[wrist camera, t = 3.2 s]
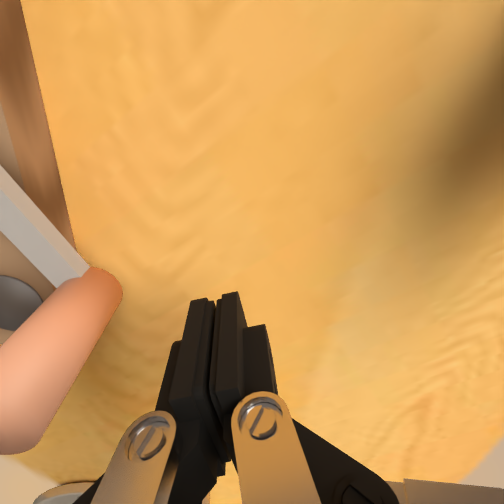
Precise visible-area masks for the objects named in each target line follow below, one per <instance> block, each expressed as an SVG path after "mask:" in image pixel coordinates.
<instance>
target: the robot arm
mask: <svg viewBox="0 0 504 504" xmlns="http://www.w3.org/2000/svg"><path fill="white" fill-rule="evenodd" d="M231 459H232V461H233V464H234V466H235V469H236V471H237V474H238V476H239V483H240V490H241V497H242V504H504V489H502V488H493V487H484V486H474V485H463V484H454V483H443V482H433V481H423V480H413V479H404V481H403V483H401V482H391V481H384V480H383V479H382V478H381V477H379V476H378V475H377V474H375V473H374V472H372V471H371V470H369V469H368V468H366V467H365V466H363V465H362V464H360V463H359V462H357V461H356V460H354V459H353V458H351V457H350V456H348V455H347V454H345V453H344V452H342V451H341V450H339V449H338V448H336V447H335V446H333V445H332V444H330V443H329V442H327V441H326V440H324V439H323V438H321V437H320V436H318V435H317V434H315V433H314V432H312V431H310V430H309V429H307V428H306V427H304V426H303V425H301V424H300V423H298V422H297V421H295V420H294V419H292V418H291V415H290V412H289V409H288V407H287V405H286V403H285V402H284V400H283V399H282V398H280V397H279V396H278V391H277V384H276V377H275V371H274V364H273V358H272V353H271V348H270V343H269V338H268V334H267V330H266V326H265V324H262V325H257V326H252V327H247V323H246V319H245V316H244V312H243V308H242V305H241V301H240V297H239V294H238V292H232V293H227V294H222V299H218V300H217V304H216V306H215V303H214V301H208V299H207V298H202V299H197V300H192V301H191V302H190V306H189V311H188V315H187V319H186V324H185V328H184V333H183V337H182V340H180V341H175V342H174V343H173V345H172V347H171V351H170V355H169V359H168V363H167V366H166V370H165V374H164V378H163V382H162V385H161V389H160V393H159V397H158V401H157V405H156V408H155V411H153V412H149V413H147V414H145V415H143V416H141V417H140V418H138V419H137V420H136V421H134V422H133V423H132V424H131V425H130V427H129V428H128V429H127V430H126V432H125V433H124V435H123V437H122V438H121V440H120V442H119V444H118V447H117V449H116V451H115V453H114V455H113V457H112V459H111V461H110V464H109V466H108V468H107V470H106V472H105V473H104V474H103V475H102V476H101V477H100V478H99V479H98V480H97V481H96V482H81V483H71V484H66V485H62V486H58V487H55V488H52V489H50V490H48V491H46V492H44V493H43V494H41V495H40V496H39V497H38V498H37V499H36V500H35V501H34V503H33V504H210V490H211V489H212V488H213V487H214V485H215V484H216V483H217V477H218V476H224V475H225V465H226V462H230V461H231Z"/></svg>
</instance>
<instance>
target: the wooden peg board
mask: <svg viewBox="0 0 504 504" xmlns="http://www.w3.org/2000/svg"><path fill="white" fill-rule="evenodd" d="M0 165H1V166H2V167H3V168H4V170H5V171H6V172H7V173H8V174H9V175H10V176H11V177H12V179H13V180H14V181H15V182H16V183H17V184H18V185H19V187H20V188H21V189H22V190H23V191H24V192H25V193H26V195H27V196H28V197H29V198H30V199H31V200H32V201H33V203H34V204H35V205H36V206H37V207H38V208H39V209H40V211H41V212H42V213H43V214H44V215H45V216H46V217H47V219H48V220H49V221H50V222H51V223H52V224H53V225H54V226H55V228H56V229H57V230H58V231H59V232H60V233H61V234H62V236H63V237H64V238H65V239H66V240H67V241H68V242H69V244H70V245H71V246H72V247H73V248H74V249H75V250H76V247H75V243H74V238H73V234H72V229H71V225H70V221H69V216H68V212H67V207H66V203H65V198H64V194H63V189H62V185H61V181H60V176H59V172H58V167H57V163H56V158H55V154H54V149H53V145H52V141H51V136H50V132H49V127H48V123H47V118H46V114H45V109H44V105H43V101H42V96H41V92H40V87H39V83H38V78H37V74H36V69H35V65H34V61H33V56H32V52H31V47H30V43H29V38H28V34H27V29H26V25H25V21H24V16H23V12H22V7H21V3H20V0H0ZM56 289H57V288H56V287H55V286H54V285H53V284H52V283H51V282H50V281H49V280H48V279H47V278H46V277H45V276H44V275H43V274H42V273H41V272H40V271H39V270H38V269H37V268H36V267H35V266H34V265H33V264H32V263H31V262H30V261H29V259H28V258H27V257H26V256H25V255H24V254H23V253H22V252H21V251H20V250H19V249H18V248H17V247H16V246H15V245H14V244H13V243H12V242H11V241H10V240H9V239H8V238H7V237H6V236H5V235H4V234H3V233H2V232H1V231H0V344H3V343H4V342H5V341H6V340H7V339H8V338H9V337H10V336H11V335H12V334H13V333H14V332H15V331H16V330H17V329H18V328H19V327H20V326H21V325H22V324H23V323H24V322H25V321H26V320H27V319H28V318H29V317H30V316H31V315H32V314H33V313H34V312H35V310H36V309H37V308H38V307H39V306H40V305H41V304H42V303H43V302H44V301H45V300H46V299H47V298H48V297H49V296H50V295H51V294H52V293H53V292H54V291H55V290H56Z"/></svg>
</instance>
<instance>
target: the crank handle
mask: <svg viewBox="0 0 504 504" xmlns="http://www.w3.org/2000/svg"><path fill="white" fill-rule="evenodd" d="M0 231H1V232H2V233H3V234H4V235H5V236H6V237H7V238H8V239H9V240H10V241H11V242H12V243H13V244H14V245H15V246H16V247H17V248H18V249H19V250H20V251H21V252H22V253H23V254H24V255H25V256H26V257H27V258H28V259H29V261H30V262H31V263H32V264H33V265H34V266H35V267H36V268H37V269H38V270H39V271H40V272H41V273H42V274H43V275H44V276H45V277H46V278H47V279H48V280H49V281H50V282H51V283H52V284H53V285H54V286H55V287H56V288H57V289H56V290H55V291H54V292H53V293H52V294H51V295H50V296H49V297H48V298H47V299H46V300H45V301H44V302H43V303H42V304H41V305H40V306H39V307H38V308H37V309H36V310H35V312H34V313H33V314H32V315H31V316H30V317H29V318H28V319H27V320H26V321H25V322H24V323H23V324H22V325H21V326H20V327H19V328H18V329H17V330H16V331H15V332H14V333H13V334H12V335H11V336H10V337H9V338H8V339H7V340H6V341H5V342H4V343H3V344H2V345H1V346H0V455H10V454H18V453H22V452H25V451H28V450H30V449H32V448H33V447H35V446H36V445H37V444H38V442H39V441H40V439H41V438H42V436H43V434H44V432H45V431H46V429H47V427H48V426H49V424H50V422H51V420H52V419H53V417H54V415H55V413H56V412H57V410H58V408H59V407H60V405H61V403H62V401H63V400H64V398H65V396H66V395H67V393H68V391H69V389H70V388H71V386H72V384H73V383H74V381H75V379H76V377H77V376H78V374H79V372H80V371H81V369H82V367H83V365H84V364H85V362H86V360H87V359H88V357H89V355H90V353H91V352H92V350H93V348H94V346H95V345H96V343H97V341H98V340H99V338H100V336H101V334H102V333H103V331H104V329H105V328H106V326H107V324H108V322H109V321H110V319H111V317H112V316H113V314H114V312H115V310H116V309H117V307H118V305H119V304H120V302H121V300H122V295H123V292H122V288H121V285H120V283H119V282H118V280H117V279H116V278H115V277H114V276H113V275H112V274H110V273H109V272H107V271H105V270H102V269H99V268H95V267H90V266H89V265H88V264H87V263H86V262H85V261H84V260H83V258H82V257H81V256H80V255H79V254H78V253H77V252H76V250H75V249H74V248H73V247H72V246H71V245H70V244H69V242H68V241H67V240H66V239H65V238H64V237H63V236H62V234H61V233H60V232H59V231H58V230H57V229H56V228H55V226H54V225H53V224H52V223H51V222H50V221H49V220H48V219H47V217H46V216H45V215H44V214H43V213H42V212H41V211H40V209H39V208H38V207H37V206H36V205H35V204H34V203H33V201H32V200H31V199H30V198H29V197H28V196H27V195H26V193H25V192H24V191H23V190H22V189H21V188H20V187H19V185H18V184H17V183H16V182H15V181H14V180H13V179H12V177H11V176H10V175H9V174H8V173H7V172H6V171H5V170H4V168H3V167H2V166H1V165H0Z"/></svg>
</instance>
